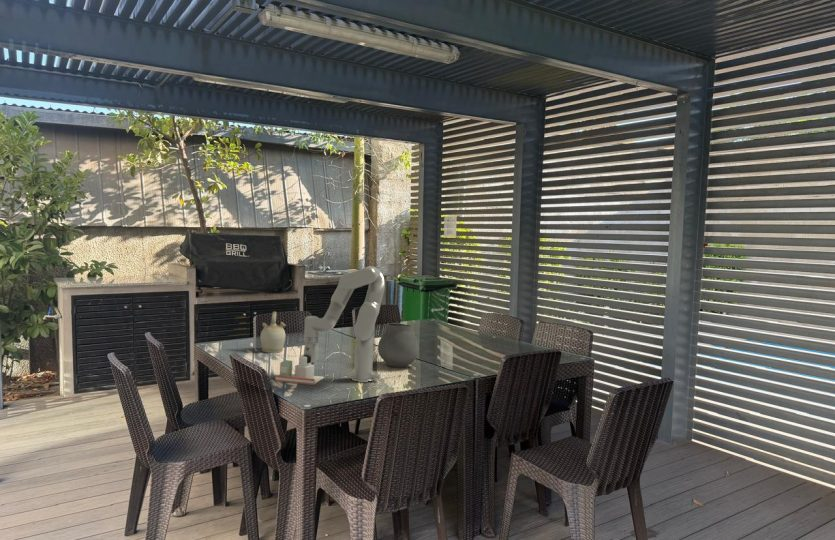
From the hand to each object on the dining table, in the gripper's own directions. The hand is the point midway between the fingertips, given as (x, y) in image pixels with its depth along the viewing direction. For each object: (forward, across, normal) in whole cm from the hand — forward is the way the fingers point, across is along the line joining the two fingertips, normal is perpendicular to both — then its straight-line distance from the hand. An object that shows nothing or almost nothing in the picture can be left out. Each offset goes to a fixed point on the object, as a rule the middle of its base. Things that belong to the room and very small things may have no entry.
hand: (309, 373), depth 303 cm
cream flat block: (+1, -8, +2) cm, 8 cm away
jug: (+2, +49, +44) cm, 66 cm away
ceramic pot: (+1, +42, -38) cm, 57 cm away
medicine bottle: (+1, -7, 0) cm, 7 cm away
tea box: (+1, -11, +9) cm, 14 cm away
